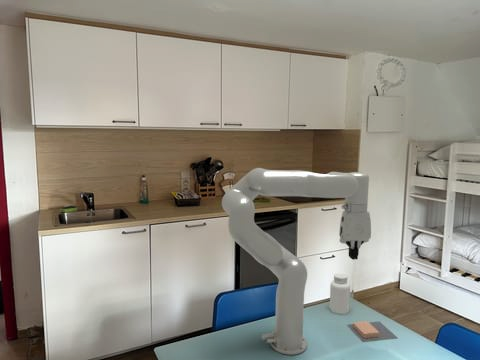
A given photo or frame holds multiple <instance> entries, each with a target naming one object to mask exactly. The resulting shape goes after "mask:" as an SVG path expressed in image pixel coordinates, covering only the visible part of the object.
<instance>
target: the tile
mask: <svg viewBox="0 0 480 360" xmlns="http://www.w3.org/2000/svg"><path fill="white" fill-rule="evenodd" d="M352 324H353V327H354V328H355V329H356V330H357V331H358V332H359V334H360V335H361V336H362V337H363V338H371V337H379V332H378V331H377V330H376V329H375V328H374V327H373V326H372V325H371V324H370V323H369V321H368V320H365V321H357V322H356V321H353V322H352Z"/></svg>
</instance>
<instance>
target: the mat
mask: <svg viewBox="0 0 480 360" xmlns="http://www.w3.org/2000/svg"><path fill="white" fill-rule="evenodd" d="M368 322H369V321H368ZM369 323H370V324H371V325H372V326H373V327H374V328H375V329H376V330H377V331H378V332H379V337H371V338H363V337H362V336H361V335H360V334H359V332H358V331H357V330H356V329H355V328H354V327H353V323H352V324H350V323H349V324H346V326H347V327H348V328H349V329H350V331H351V332H353V334H354V335H355V336H356V337H357V338H358V339H359V340H360V341H361V342H362V343H370V342H378V341H387V340H388V341H389V340H396V339H399V337H397V335H395V334H394V333H393V332H392V331H391V330H390V329H388V327H386V326H385V325H384V323H382V322H381V321H380V320H379V321H371V322H369Z"/></svg>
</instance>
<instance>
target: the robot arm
mask: <svg viewBox="0 0 480 360" xmlns="http://www.w3.org/2000/svg"><path fill="white" fill-rule="evenodd" d="M369 183H370V176H369V174H368V173H366V172H359V171H354V172H352V171H351V172H339V171H329V172H328V173H326V174H324V173H316V172H312V171H307V170H298V169H296V170H295V169H293V170H290V169H289V170H288V169H287V170H285V169H284V170H283V169H281V170H278V169H266V168H263V167H256V168H253V169H251V170H250V171H249V172H247V174H245V175H244V176H242V178H241V179H239V181H237V182H236V183H235V184H234V185H232V187H230V189H229V190H227V191H226V192H225V194H224V195H223V197H222V198H221V206H222V209H223V211H224V212H225V213H226V214H227V215H228V222H227V223H228V226H227V227H228V232H229V234H230V236H231V238H232V239H233V240H234V242H236V244H238V245H239V246H240V247H241V248H242V249H243V250H245V251H246V252H247V253H248V254H249V255H250V256H251V257H253V258H254V259H255V260H256V261H257V263H259V264H261V265H263V266H265V268H267V269H269V270H270V272H272V274H273V275H275V276H276V277H277V279H278V285H277V287H276V292H275V317H274V318H275V320H274V322H275V323H274V325H275V326H274V329H272V332H270V333H262V334H261V335H260V336H261V340H262V341H266V344H270V346H271V347H272V349H273V350H274V351H276V352H278V353H280V354H284V355H293V356H294V355H299V354H301V353H304V352H305V351H306V349H307V348H308V341H307V340H306V338H305V337H304V336H303V335H304V334H303V333H304V312H305V311H304V310H305V307H304V306H305V290H306V285H307V280H308V270H307V267H306V265H305V264H304V262H303V261H302V260H301V259H299V257H297V256H296V255H294V254H293V253H291V251H289V250H288V249H286V248H285V247H284V245H282V244H281V243H279V242H278V241H277V239H275V238H274V237H273V236H272V235H270V234H269V233H268V232H265V231H264V230H263V229H261V227H260V226H258V225H257V224H256V222H255V211H256V207H255V204H254V200H255V199H256V198H257V197H258V196H259V195H260V196H263V197H305V198H320V199H321V198H323V199H344V204H342V205H341V209H344V210H343V211H342V214H341V218H340V223H339V243H341V244H343V245H344V244H345V245H347V247H348V257H349V258H350V259H351V260H352V261H353V260H358V257H359V252H360V251H359V249H360V248H361V246H362V245H363V244H365V243H368V242H369V240H370V239H371V237H372V221H371V220H372V219H371V214H370V211H368V206H369V205H368V202H369V201H368V200H369V186H370V185H369Z"/></svg>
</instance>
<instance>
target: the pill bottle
mask: <svg viewBox="0 0 480 360" xmlns="http://www.w3.org/2000/svg"><path fill="white" fill-rule="evenodd" d="M333 276H334V277H333V280H332V281H331V282H330V285H329V287H330V288H329V289H330V291H329V310H330V311H331V312H333V313H334V314H338V315H346V314H348V313H349V312H350V304H351V303H350V302H351V284H350V282H348V275H347V274H344V273H335V274H334V275H333Z"/></svg>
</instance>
